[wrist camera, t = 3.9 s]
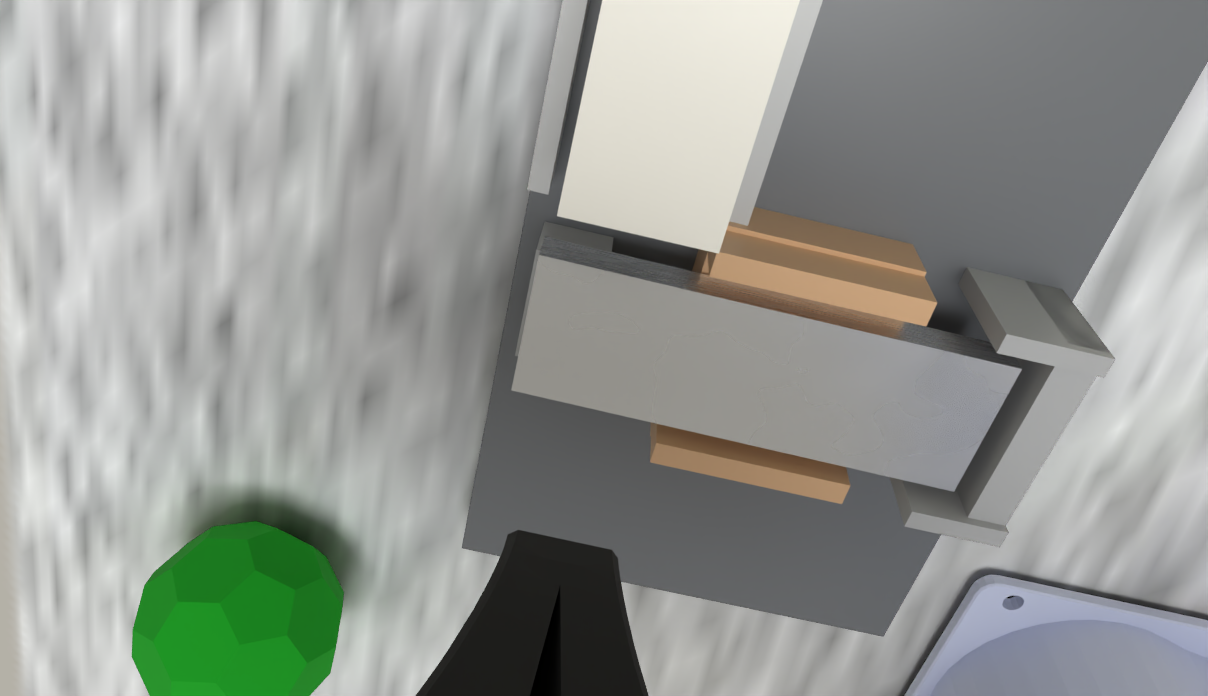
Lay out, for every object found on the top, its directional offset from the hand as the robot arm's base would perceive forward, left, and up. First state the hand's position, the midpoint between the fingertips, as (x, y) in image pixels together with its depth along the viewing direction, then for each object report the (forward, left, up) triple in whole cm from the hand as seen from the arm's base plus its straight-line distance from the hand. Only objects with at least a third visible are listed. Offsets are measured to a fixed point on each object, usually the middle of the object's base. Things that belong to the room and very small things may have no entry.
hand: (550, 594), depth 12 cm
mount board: (-4, -1, -10) cm, 10 cm away
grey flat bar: (-3, 0, -7) cm, 8 cm away
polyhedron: (+7, +11, -10) cm, 16 cm away
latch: (0, -6, -8) cm, 10 cm away
